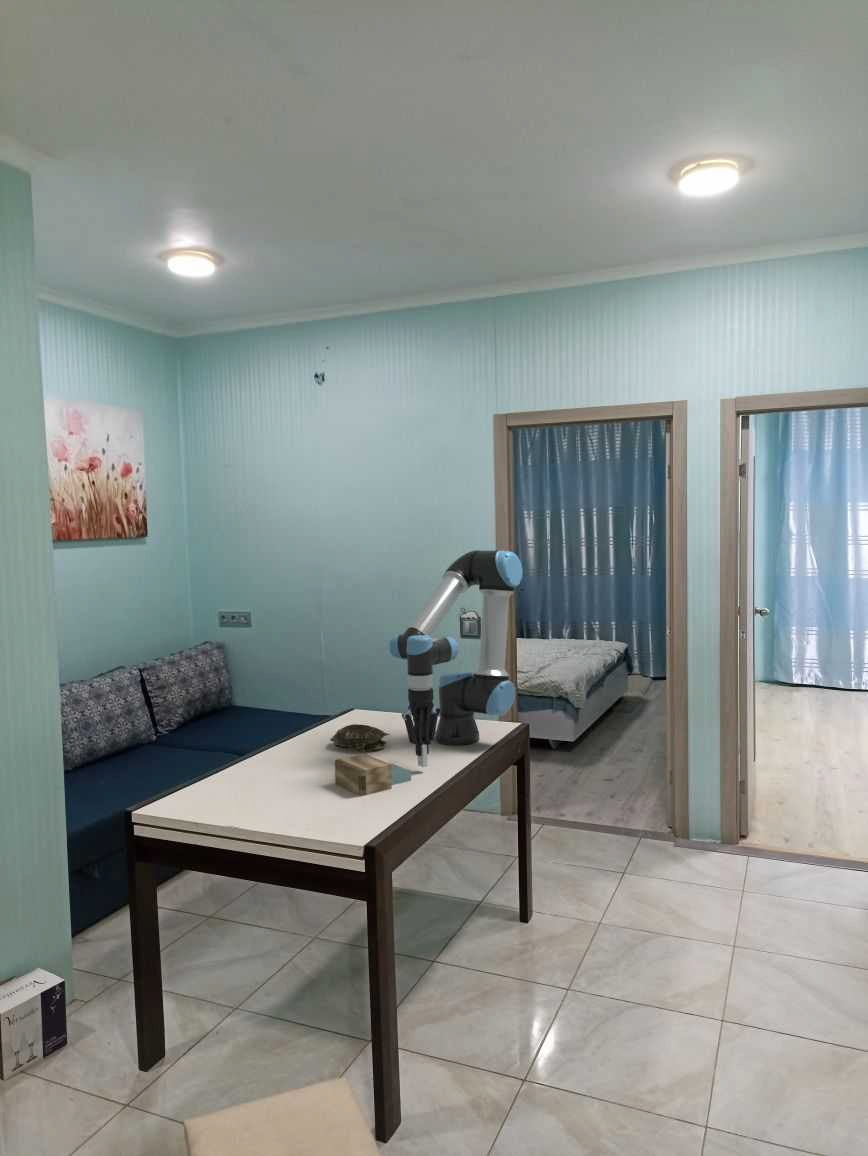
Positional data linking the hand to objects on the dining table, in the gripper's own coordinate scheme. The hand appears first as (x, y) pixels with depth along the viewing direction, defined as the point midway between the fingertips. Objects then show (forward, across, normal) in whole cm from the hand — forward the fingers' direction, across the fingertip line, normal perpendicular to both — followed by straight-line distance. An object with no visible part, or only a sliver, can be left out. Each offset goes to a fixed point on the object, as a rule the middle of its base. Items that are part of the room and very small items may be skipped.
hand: (422, 765), depth 258 cm
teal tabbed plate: (+2, +15, 0) cm, 15 cm away
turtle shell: (+2, -1, -37) cm, 37 cm away
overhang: (+2, +21, 0) cm, 21 cm away
